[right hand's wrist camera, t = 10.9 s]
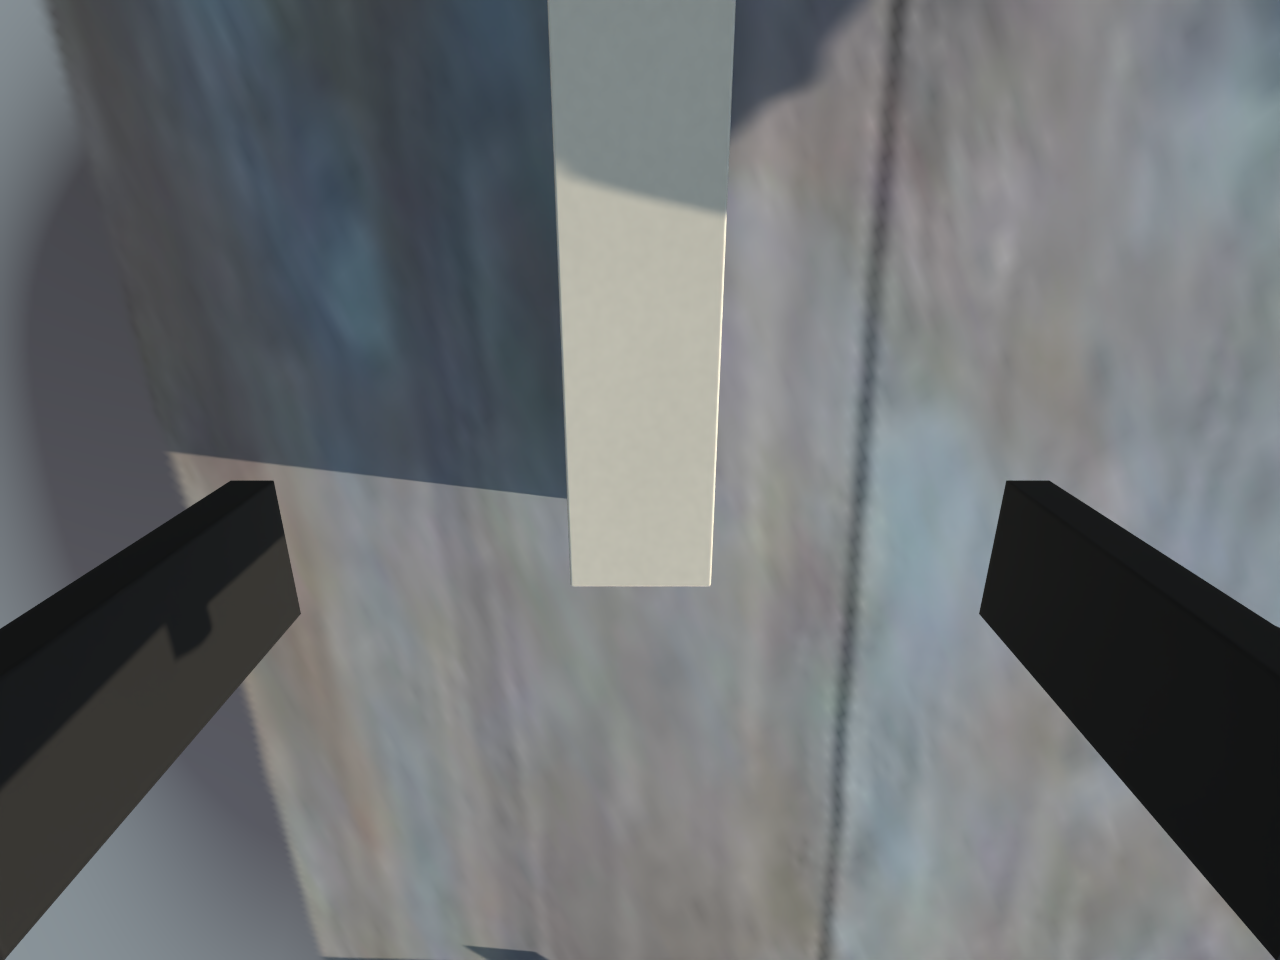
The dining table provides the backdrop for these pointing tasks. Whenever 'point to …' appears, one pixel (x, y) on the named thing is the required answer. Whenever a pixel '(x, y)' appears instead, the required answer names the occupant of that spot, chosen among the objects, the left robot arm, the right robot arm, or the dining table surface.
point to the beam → (641, 278)
